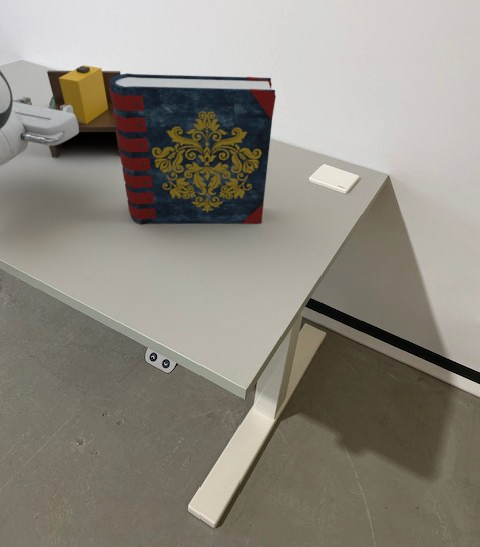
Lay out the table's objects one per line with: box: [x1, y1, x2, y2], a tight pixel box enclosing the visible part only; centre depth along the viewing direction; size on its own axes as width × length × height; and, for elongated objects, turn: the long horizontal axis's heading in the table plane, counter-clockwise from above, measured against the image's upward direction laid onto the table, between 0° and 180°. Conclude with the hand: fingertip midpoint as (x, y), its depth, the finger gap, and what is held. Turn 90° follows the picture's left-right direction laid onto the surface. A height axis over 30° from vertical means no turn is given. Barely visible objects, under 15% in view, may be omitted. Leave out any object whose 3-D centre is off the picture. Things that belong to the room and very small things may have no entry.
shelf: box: [46, 70, 122, 158], centre depth 95 cm, size 16×14×14 cm
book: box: [109, 72, 276, 225], centre depth 73 cm, size 25×7×25 cm, turn 94°
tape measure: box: [59, 64, 108, 124], centre depth 92 cm, size 9×4×10 cm, turn 162°
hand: (48, 104), depth 82 cm, fingers open, 8 cm apart
